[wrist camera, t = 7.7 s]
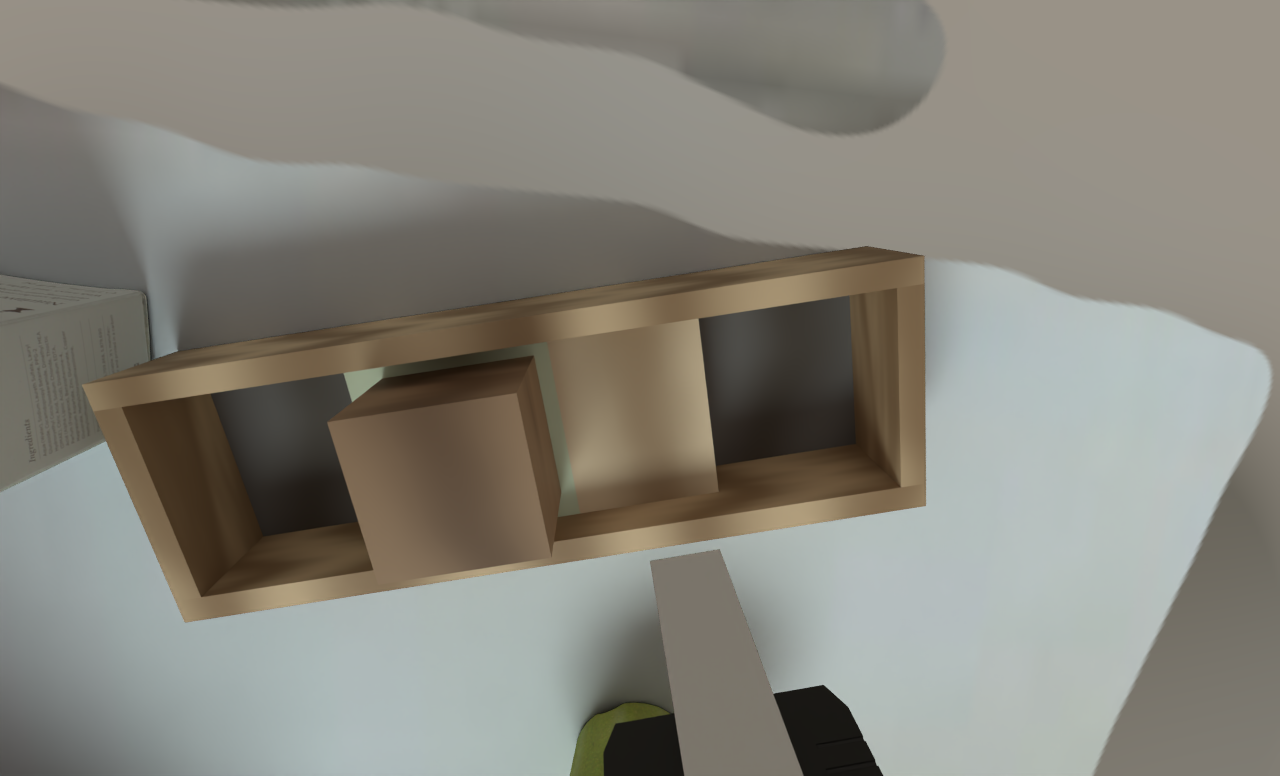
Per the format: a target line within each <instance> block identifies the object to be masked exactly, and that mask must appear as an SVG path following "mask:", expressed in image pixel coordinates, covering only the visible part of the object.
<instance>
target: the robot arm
mask: <svg viewBox="0 0 1280 776" xmlns="http://www.w3.org/2000/svg"><path fill="white" fill-rule="evenodd" d="M650 564H651V570H652V576H653V583H654V589H655V595H656V601H657V608H658V614H659V620H660V626H661V633H662V639H663V645H664V651H665V658H666V664H667V670H668V676H669V683H670V689H671V695H672V701H673V708H674V713H673V714H667V715H661V716H656V717H650V718H644V719H639V720H633V721H627V722H622V723H616V724H615V725H614V728H613V730H612V733H611V735H610V737H609V740H608V742H607V745H606V747H605V750H604V752H603V764H604V776H883V774H882V772H881V770H880V768H879V767H878V766H877V765H876V762H875V759H874V757H873V755H872V753H871V751H870V749H869V747H868V745H867V743H866V741H864V739H863V735H862V733H861V731H860V729H859V727H858V725H857V723H856V722H855V720H854V718H853V716H852V714H851V712H850V710H849V708H848V706H846V705H845V704H844V703H843V702H842V701H841V700H840V699H839V698H837V697H836V696H835V695H834V694H833V693H832V692H831V691H830V690H829V689H827V688H826V687H825V686H824V685H821V686H815V687H809V688H804V689H798V690H792V691H787V692H781V693H775V694H773V692H772V689H771V687H770V684H769V681H768V679H767V676H766V673H765V670H764V668H763V665H762V662H761V660H760V657H759V654H758V652H757V649H756V646H755V643H754V641H753V638H752V635H751V633H750V630H749V627H748V625H747V622H746V619H745V616H744V614H743V611H742V608H741V606H740V603H739V600H738V598H737V595H736V592H735V589H734V587H733V584H732V581H731V579H730V576H729V573H728V571H727V568H726V565H725V562H724V560H723V557H722V554H721V552H720V549H718V550H713V551H707V552H701V553H695V554H689V555H683V556H677V557H671V558H665V559H659V560H653V561H650Z"/></svg>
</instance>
